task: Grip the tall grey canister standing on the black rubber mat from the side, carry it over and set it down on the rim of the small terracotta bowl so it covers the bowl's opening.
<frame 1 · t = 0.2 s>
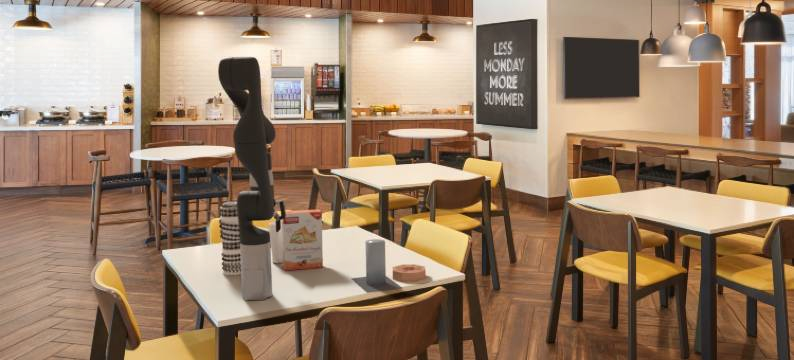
hand: (264, 231, 223), 18 cm above the table, tool pointing down, fingers open, 8 cm apart
mat: (376, 285, 222), on the table
decorative candle: (234, 272, 241), on the table
bowl: (408, 278, 229), on the table
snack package: (268, 244, 287), on the table
cracker box: (303, 268, 245), on the table
grey canister: (376, 283, 222), point 1 cm above the table, touching mat
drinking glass: (279, 262, 254), on the table
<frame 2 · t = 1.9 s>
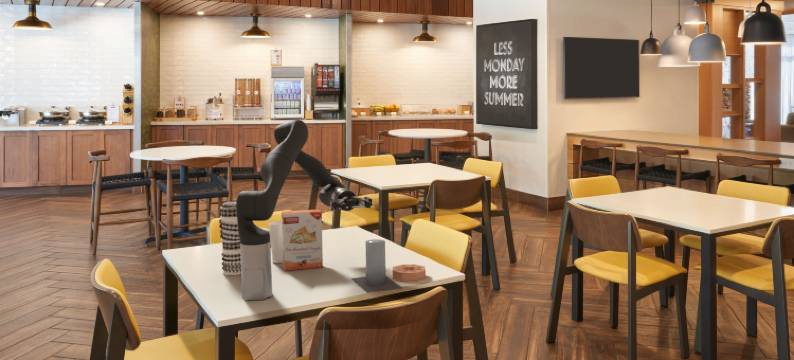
hand: (357, 206, 231), 24 cm above the table, tool horizontal, fingers open, 8 cm apart
nothing on the table moved.
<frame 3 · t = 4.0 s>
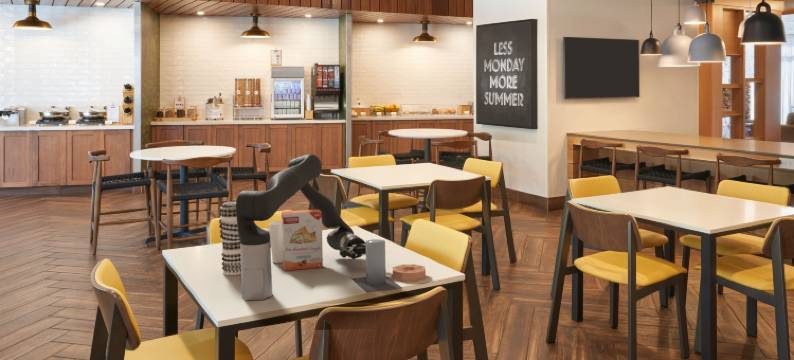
hand: (366, 255, 229), 8 cm above the table, tool horizontal, fingers open, 8 cm apart
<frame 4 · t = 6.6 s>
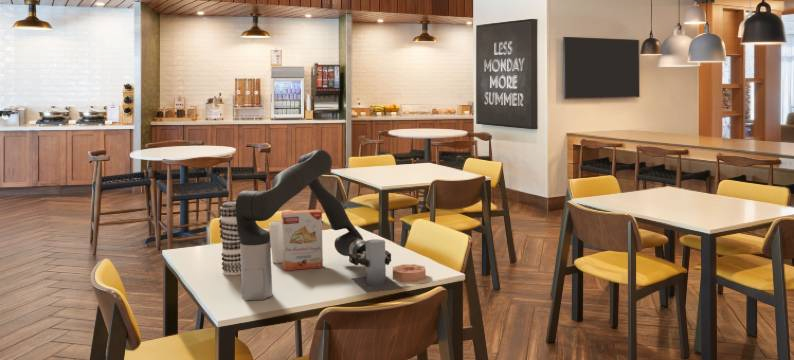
hand: (378, 262, 219), 8 cm above the table, tool horizontal, fingers closed on grey canister, 6 cm apart
grey canister: (376, 283, 222), point 1 cm above the table, touching gripper, mat
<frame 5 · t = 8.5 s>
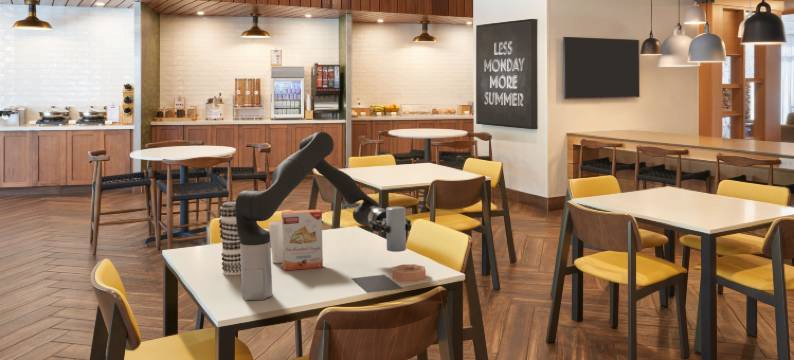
hand: (398, 229, 223), 18 cm above the table, tool horizontal, fingers closed on grey canister, 6 cm apart
grey canister: (396, 249, 226), point 11 cm above the table, touching gripper
when the fingers open (12 cm above the table, at t = 10.6 s): grey canister drops 1 cm, resting on bowl.
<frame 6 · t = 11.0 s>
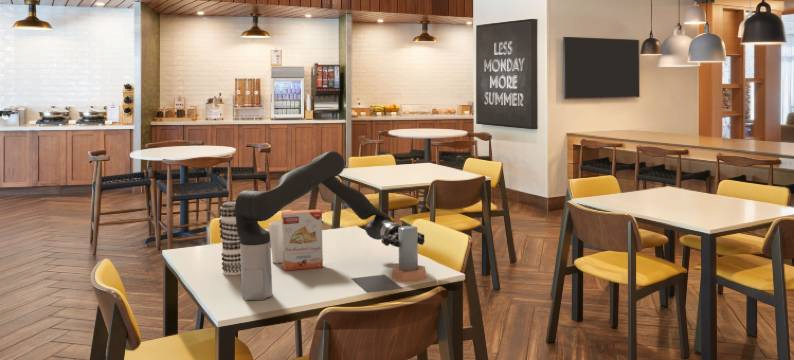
hand: (410, 243, 225), 13 cm above the table, tool horizontal, fingers open, 8 cm apart
grey canister: (408, 268, 228), point 3 cm above the table, touching bowl
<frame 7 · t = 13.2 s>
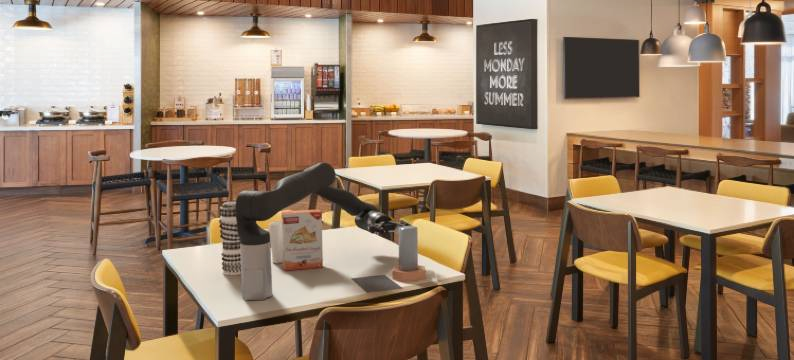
hand: (394, 230, 237), 14 cm above the table, tool horizontal, fingers open, 8 cm apart
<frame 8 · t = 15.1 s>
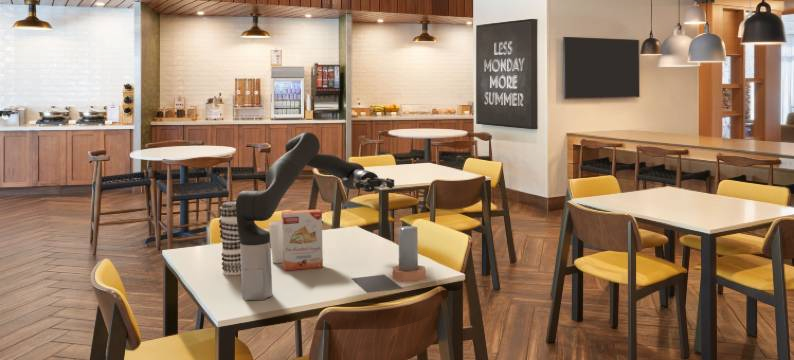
hand: (380, 186, 238), 30 cm above the table, tool horizontal, fingers open, 8 cm apart
at the end: grey canister 0.1 cm off-centre on the bowl, point 3.5 cm above the bowl's base; grey canister tilted 0°; the gripper is holding nothing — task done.
